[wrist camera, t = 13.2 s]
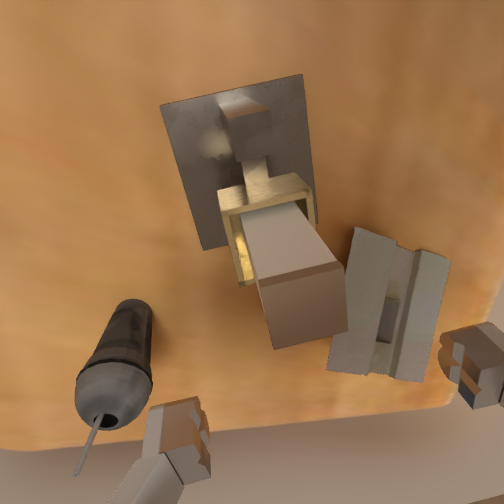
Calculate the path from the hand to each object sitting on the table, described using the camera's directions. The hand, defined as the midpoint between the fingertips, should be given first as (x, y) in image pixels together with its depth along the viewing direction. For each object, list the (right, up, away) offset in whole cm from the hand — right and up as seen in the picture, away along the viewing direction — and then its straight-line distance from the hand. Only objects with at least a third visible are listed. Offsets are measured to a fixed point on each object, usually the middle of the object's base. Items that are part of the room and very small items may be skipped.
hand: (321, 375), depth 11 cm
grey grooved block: (+15, 0, +37) cm, 39 cm away
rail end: (-1, +7, +19) cm, 21 cm away
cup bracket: (-3, +13, +26) cm, 29 cm away
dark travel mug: (-18, -4, +33) cm, 37 cm away
